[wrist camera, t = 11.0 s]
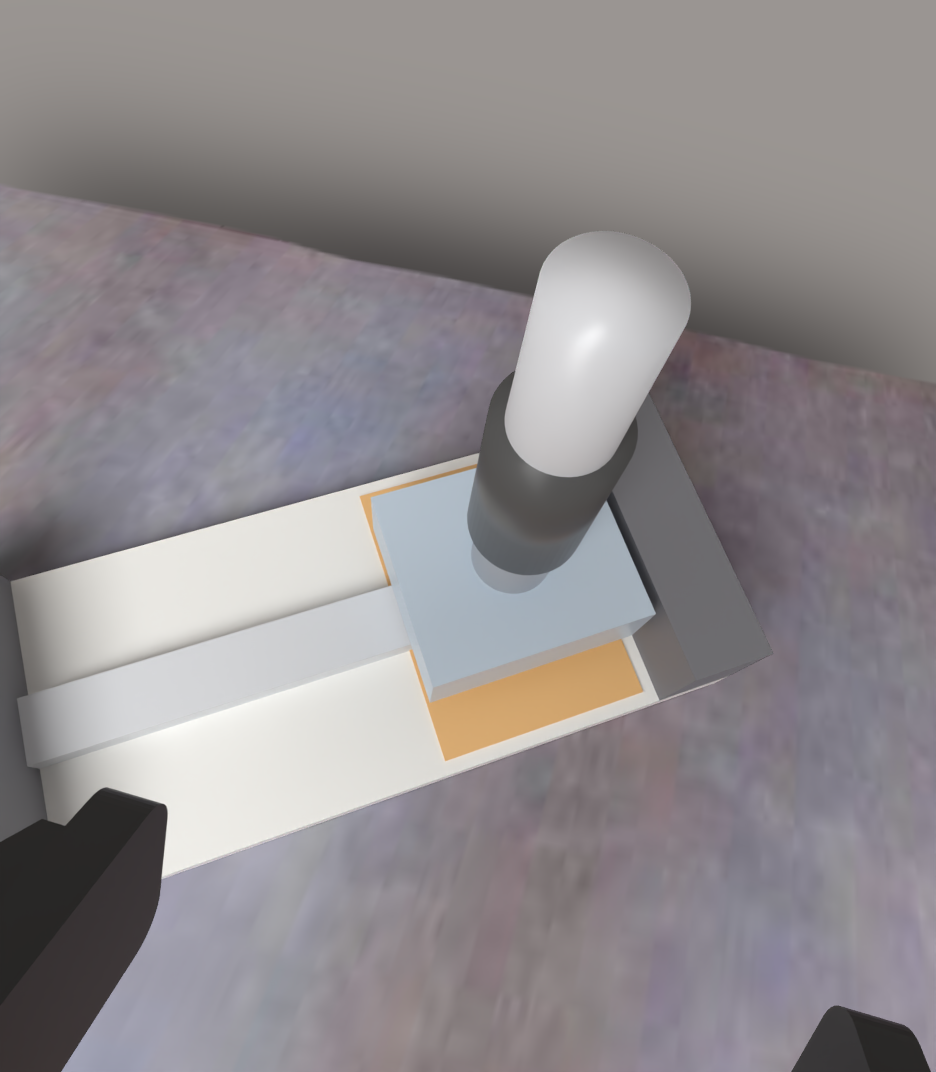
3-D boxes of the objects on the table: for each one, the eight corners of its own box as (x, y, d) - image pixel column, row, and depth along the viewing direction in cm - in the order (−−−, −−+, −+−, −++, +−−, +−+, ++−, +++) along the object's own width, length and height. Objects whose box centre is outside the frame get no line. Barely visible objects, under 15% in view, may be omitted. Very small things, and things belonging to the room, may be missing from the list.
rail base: (602, 433, 36) (635, 365, 31) (714, 683, 32) (773, 653, 27) (-54, 615, 31) (-144, 570, 25) (-12, 940, 27) (-109, 964, 22)
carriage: (563, 474, 32) (726, 113, 16) (631, 635, 30) (897, 400, 14) (373, 528, 30) (345, 189, 15) (429, 702, 28) (469, 525, 12)
